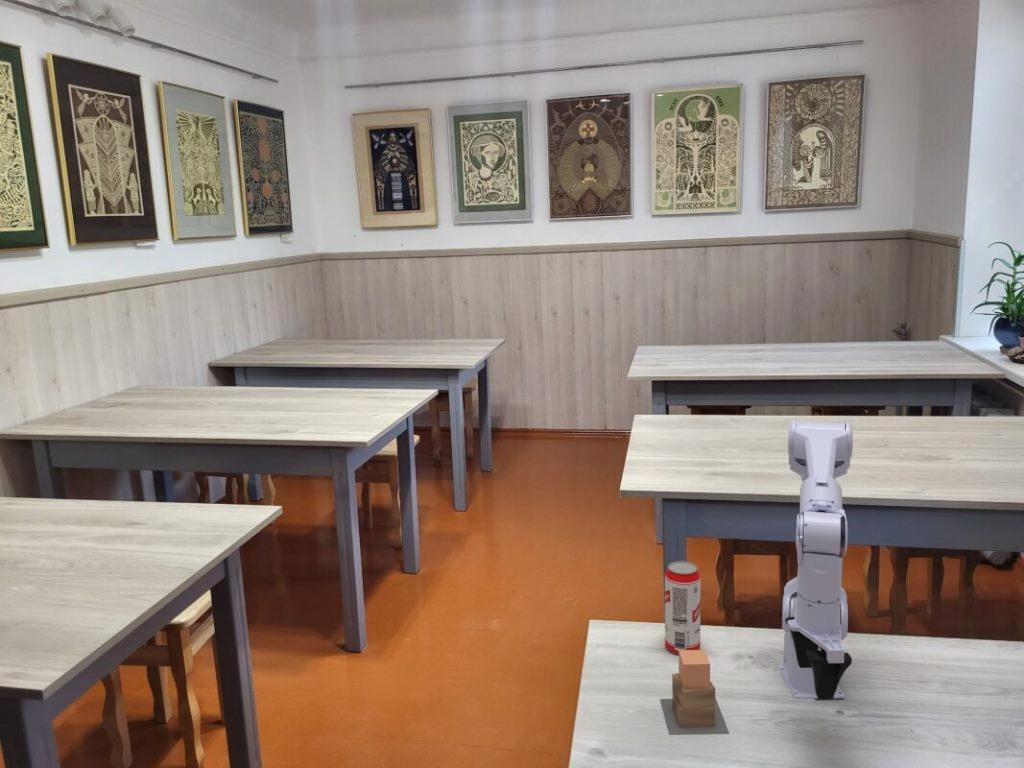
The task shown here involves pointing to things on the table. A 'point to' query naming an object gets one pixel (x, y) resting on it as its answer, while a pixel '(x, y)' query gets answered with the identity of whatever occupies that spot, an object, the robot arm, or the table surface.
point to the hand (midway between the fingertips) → (815, 681)
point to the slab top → (692, 694)
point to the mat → (676, 730)
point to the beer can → (682, 607)
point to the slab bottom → (693, 715)
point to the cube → (694, 669)
